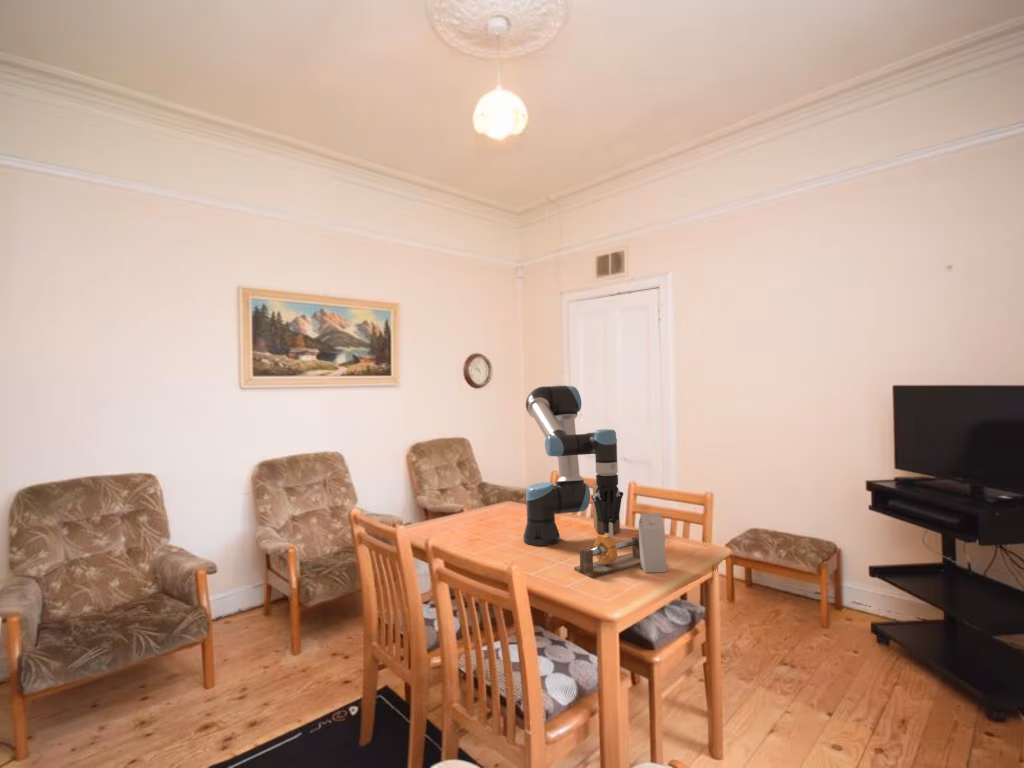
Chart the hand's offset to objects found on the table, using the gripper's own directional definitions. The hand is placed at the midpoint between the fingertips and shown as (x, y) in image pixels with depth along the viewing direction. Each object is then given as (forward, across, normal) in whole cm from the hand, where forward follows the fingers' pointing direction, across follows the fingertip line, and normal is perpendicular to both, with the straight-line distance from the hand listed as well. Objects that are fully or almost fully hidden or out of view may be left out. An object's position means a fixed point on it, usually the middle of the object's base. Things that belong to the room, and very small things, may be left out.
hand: (609, 541), depth 179 cm
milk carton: (+9, +10, -10) cm, 17 cm away
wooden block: (+9, +30, +36) cm, 47 cm away
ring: (+7, -2, 0) cm, 7 cm away
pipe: (+4, +2, 0) cm, 4 cm away
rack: (+9, +2, 0) cm, 9 cm away
